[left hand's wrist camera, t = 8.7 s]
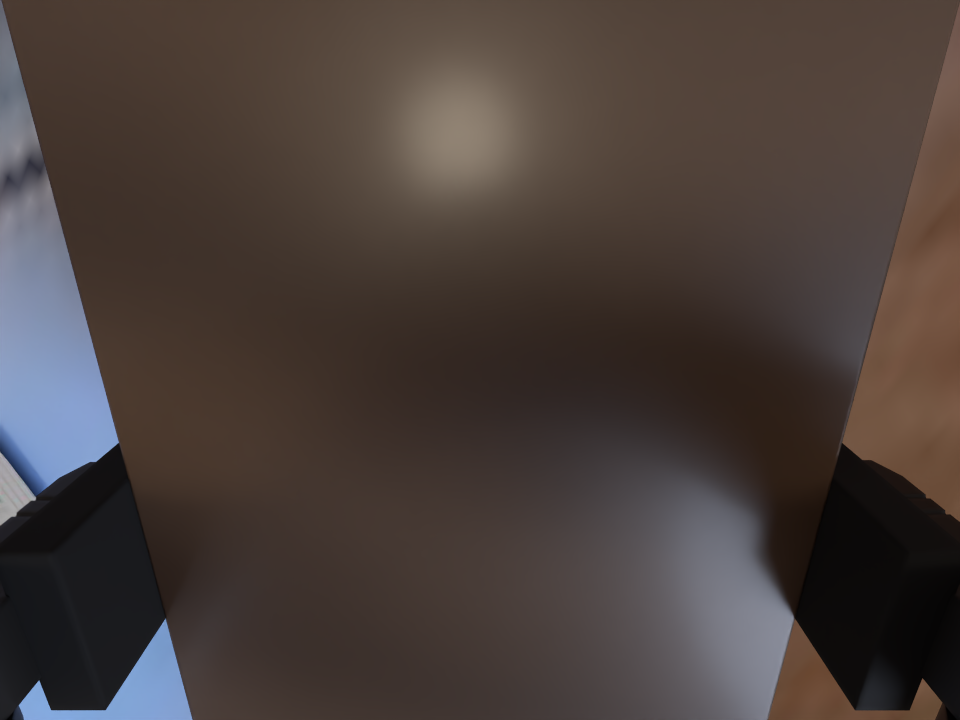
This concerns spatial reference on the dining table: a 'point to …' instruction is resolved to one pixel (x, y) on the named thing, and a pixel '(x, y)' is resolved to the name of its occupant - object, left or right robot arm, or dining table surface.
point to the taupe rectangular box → (480, 329)
